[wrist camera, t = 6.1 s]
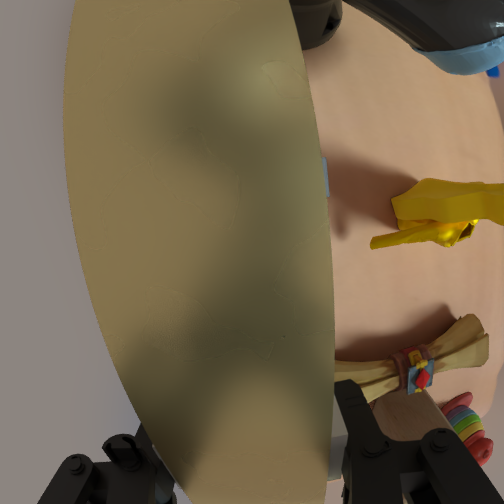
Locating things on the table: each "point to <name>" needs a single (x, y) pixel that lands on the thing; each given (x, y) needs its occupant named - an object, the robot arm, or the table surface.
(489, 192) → the figure statuette
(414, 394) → the wooden block
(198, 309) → the rail
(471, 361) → the scroll
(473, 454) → the stacking bear
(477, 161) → the table surface
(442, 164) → the table surface
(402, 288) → the table surface
